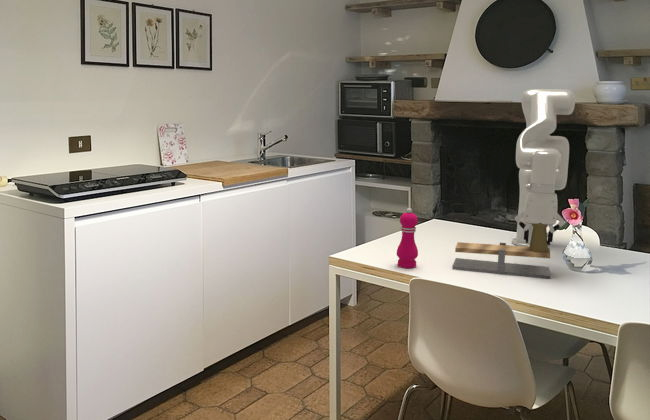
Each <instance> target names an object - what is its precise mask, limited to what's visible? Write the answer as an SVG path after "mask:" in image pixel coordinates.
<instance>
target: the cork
mask: <svg viewBox="0 0 650 420" xmlns="http://www.w3.org/2000/svg"><path fill="white" fill-rule="evenodd" d="M532 226H533V231H532V237H531V242H530V247H529V250H530V251H532V252H539V253H544V252H548V248H549V245H548V242H547V241H548V237H547V233H548V230H547V228H549V226H548V225H544V224H542V223H538V224H532Z"/></svg>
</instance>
